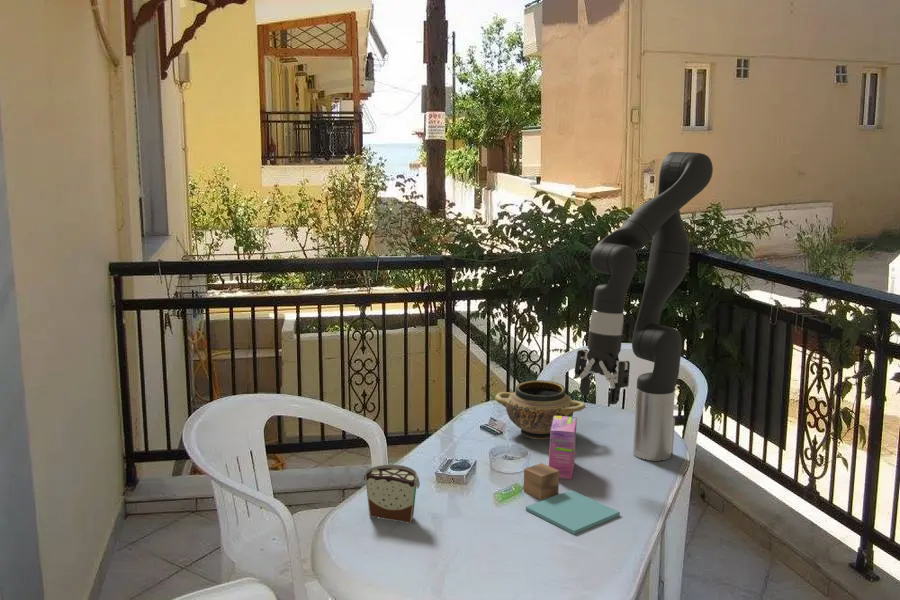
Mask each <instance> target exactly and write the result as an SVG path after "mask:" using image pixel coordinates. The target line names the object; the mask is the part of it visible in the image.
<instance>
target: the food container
mask: <svg viewBox="0 0 900 600" xmlns="http://www.w3.org/2000/svg"><path fill="white" fill-rule="evenodd" d="M362 481H365V488H366V496H367V505H368V514H369V517H370V516H373V517H372V518H374V517H379V518H378V519H380V518H384V519H383V520H385V519H388V520H387V521H391V520H393V521H392V522H397V521H401V522H400V523H403V522H408V523H407V524H409V523H411V524H412V523H413V522H414V514H415V512H414V511H415V504H416V503H415V502H416V494H417V490H418V489H419V488H420V487H421V486H420V485H421V483H420V478H419V475H418V473H417V471H416V470H415V469H413V468H412V467H408V466H405V465H400V464H381V465H377V466H372V467H370V468H368V469H366V470H364V473H363V478H362ZM412 521H413V522H412Z"/></svg>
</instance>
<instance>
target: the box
mask: <svg viewBox="0 0 900 600" xmlns="http://www.w3.org/2000/svg"><path fill="white" fill-rule="evenodd" d="M577 423H578V418H577V417H574V416H572V417H566V416H554V417H553V421H552V426H551V430H550V438H549V452H548V453H549V455H548V466H549V467H552V468H554V469H556V470H559V479H563V480H573V473H574V467H575V457H576V438H577V437H576V436H577V425H578V424H577Z"/></svg>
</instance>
